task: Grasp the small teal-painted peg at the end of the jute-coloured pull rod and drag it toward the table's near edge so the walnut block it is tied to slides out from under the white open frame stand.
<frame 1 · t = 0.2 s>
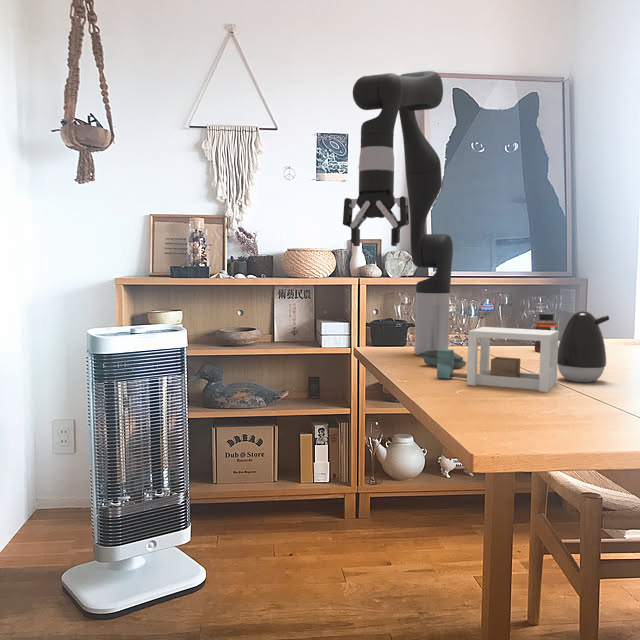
hand: (375, 246, 152), 29 cm above the table, fingers open, 8 cm apart
pump dispenser: (580, 381, 152), on the table
white open frame stand: (512, 384, 146), on the table
stone: (446, 367, 172), on the table
supplement bottle: (544, 352, 206), on the table
tethered block: (477, 366, 149), point 3 cm above the table, slide at 0.0 cm
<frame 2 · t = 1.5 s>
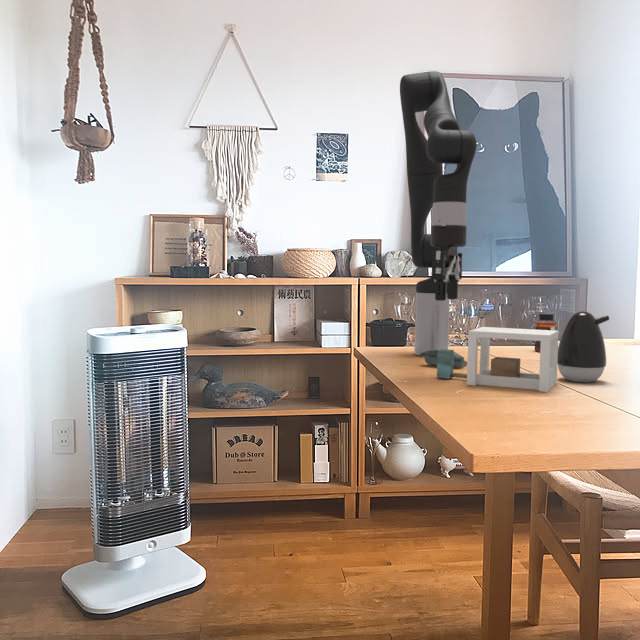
hand: (446, 299, 152), 17 cm above the table, fingers open, 8 cm apart
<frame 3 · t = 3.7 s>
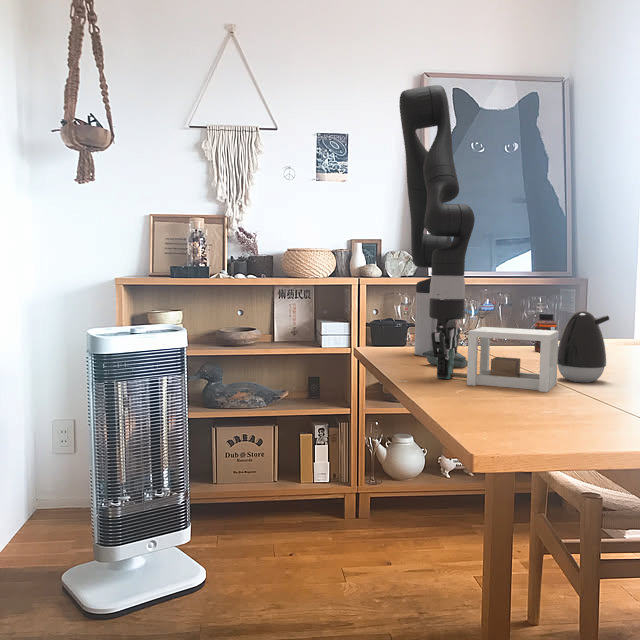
hand: (444, 375, 153), 1 cm above the table, fingers closed on tethered block, 3 cm apart
tethered block: (477, 366, 149), point 3 cm above the table, slide at 0.0 cm, touching gripper
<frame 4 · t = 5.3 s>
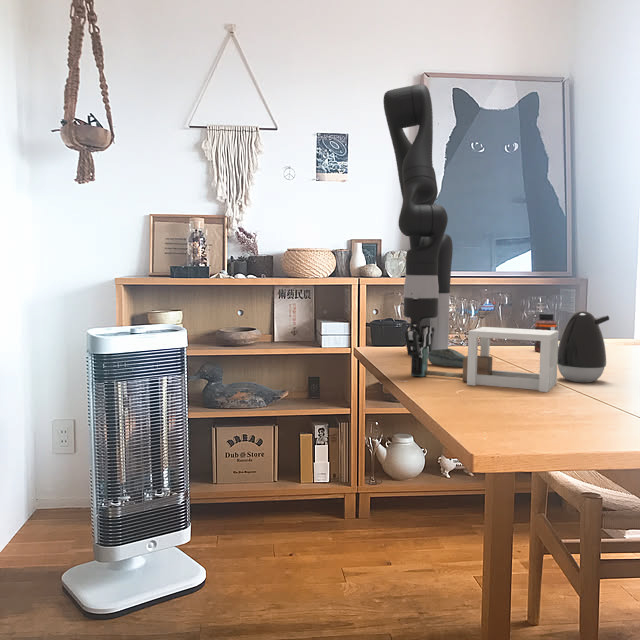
hand: (419, 373, 155), 1 cm above the table, fingers closed on tethered block, 3 cm apart
tethered block: (450, 364, 152), point 3 cm above the table, slide at 5.9 cm, touching gripper
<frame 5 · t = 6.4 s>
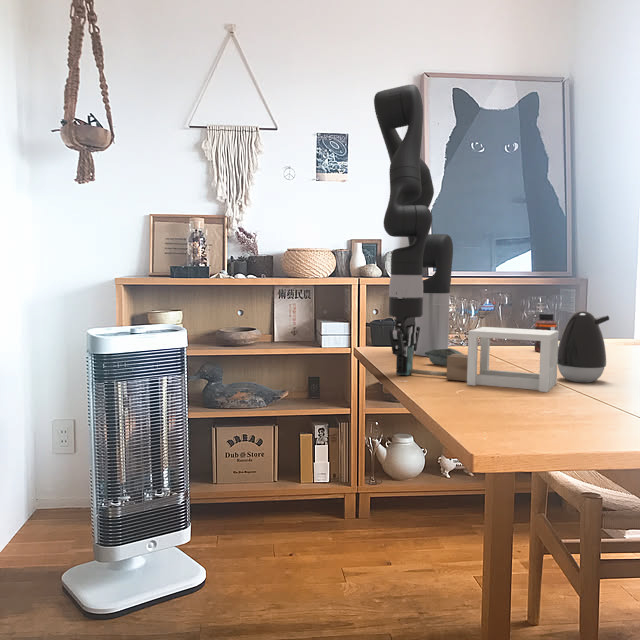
hand: (404, 371, 157), 1 cm above the table, fingers closed on tethered block, 3 cm apart
tethered block: (434, 362, 154), point 3 cm above the table, slide at 9.4 cm, touching gripper
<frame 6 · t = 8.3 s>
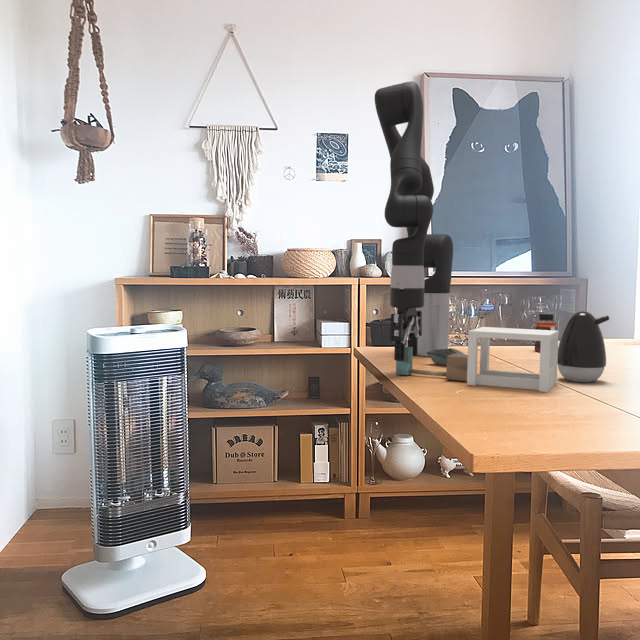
hand: (406, 358, 157), 4 cm above the table, fingers open, 8 cm apart
tethered block: (434, 362, 154), point 3 cm above the table, slide at 9.5 cm
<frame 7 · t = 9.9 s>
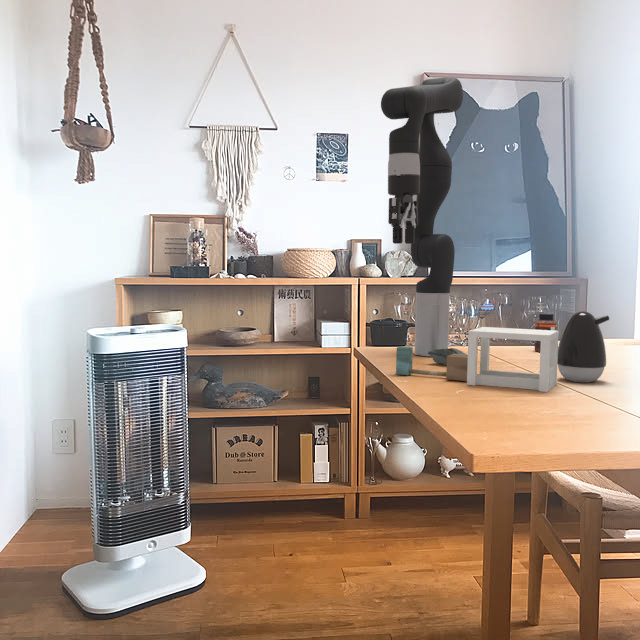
hand: (403, 243, 166), 30 cm above the table, fingers open, 8 cm apart
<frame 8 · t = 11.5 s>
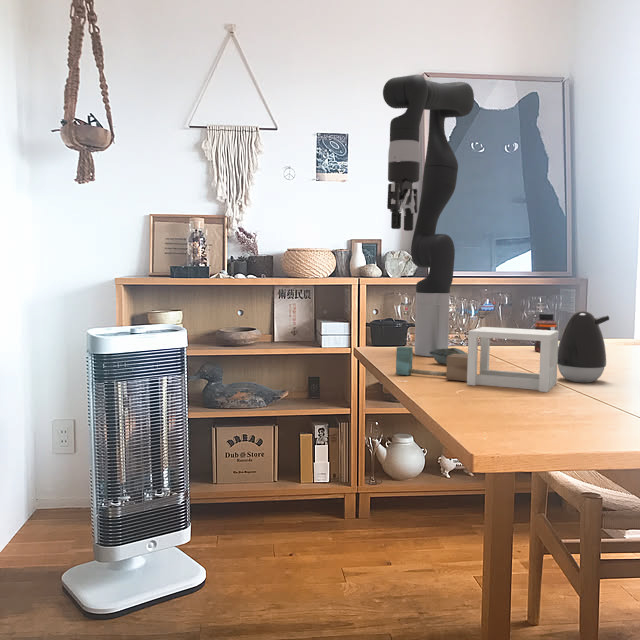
hand: (402, 229, 169), 33 cm above the table, fingers open, 8 cm apart
at the end: tethered block slide at 9.5 cm; the gripper is holding nothing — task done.
